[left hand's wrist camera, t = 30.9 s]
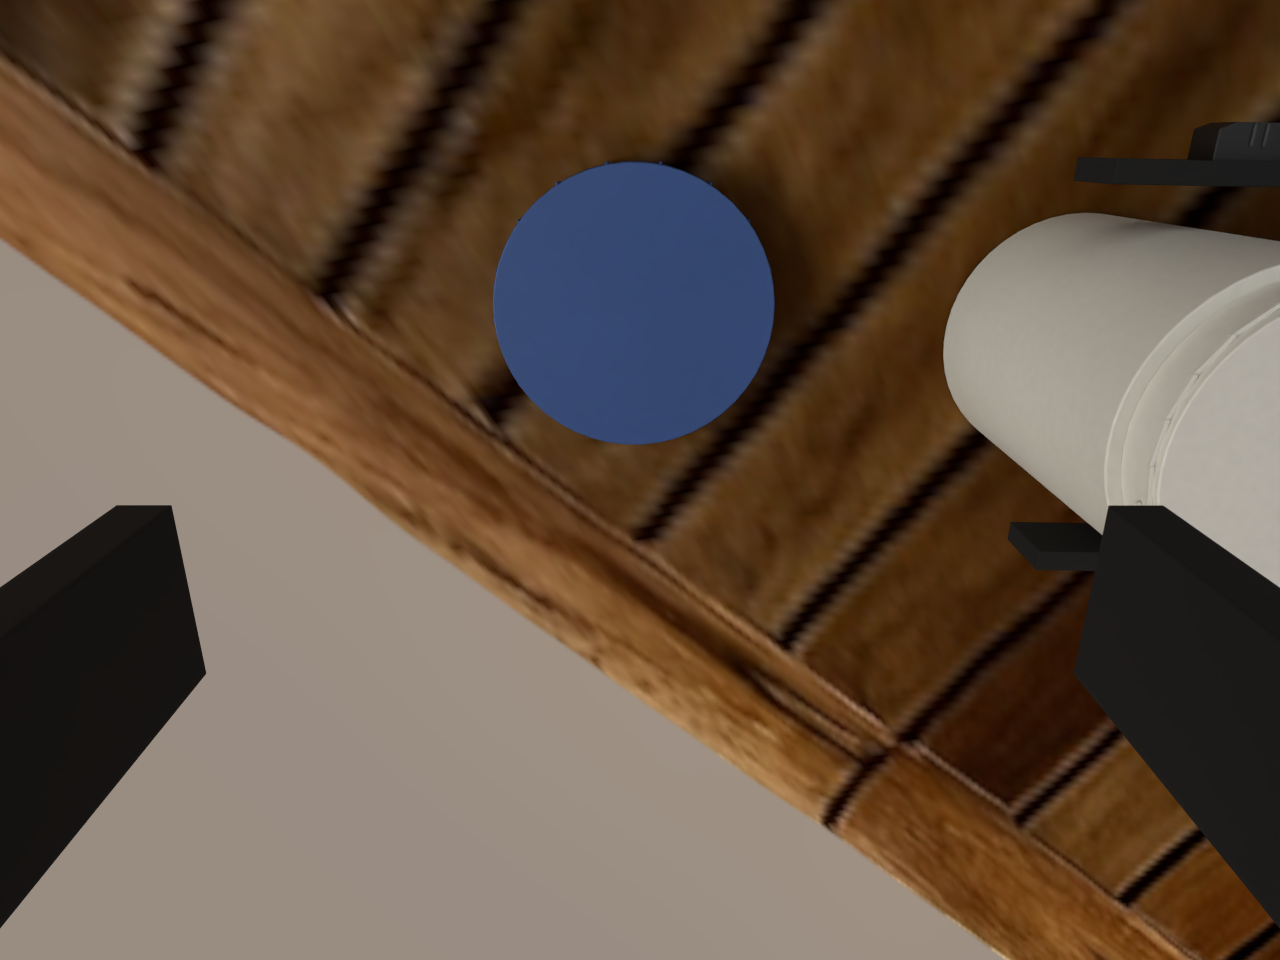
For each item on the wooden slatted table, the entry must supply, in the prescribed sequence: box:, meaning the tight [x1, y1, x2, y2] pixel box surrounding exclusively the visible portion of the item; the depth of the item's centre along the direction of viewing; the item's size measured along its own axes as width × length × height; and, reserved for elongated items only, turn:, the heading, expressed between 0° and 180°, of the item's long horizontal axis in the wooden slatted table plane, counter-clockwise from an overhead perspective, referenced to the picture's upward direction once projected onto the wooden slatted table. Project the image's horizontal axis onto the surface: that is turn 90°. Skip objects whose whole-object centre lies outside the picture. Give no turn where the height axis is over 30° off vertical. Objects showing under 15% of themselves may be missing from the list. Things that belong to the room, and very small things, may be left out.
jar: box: [943, 213, 1280, 587], centre depth 30 cm, size 10×10×16 cm
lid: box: [493, 161, 775, 444], centre depth 36 cm, size 11×11×2 cm
